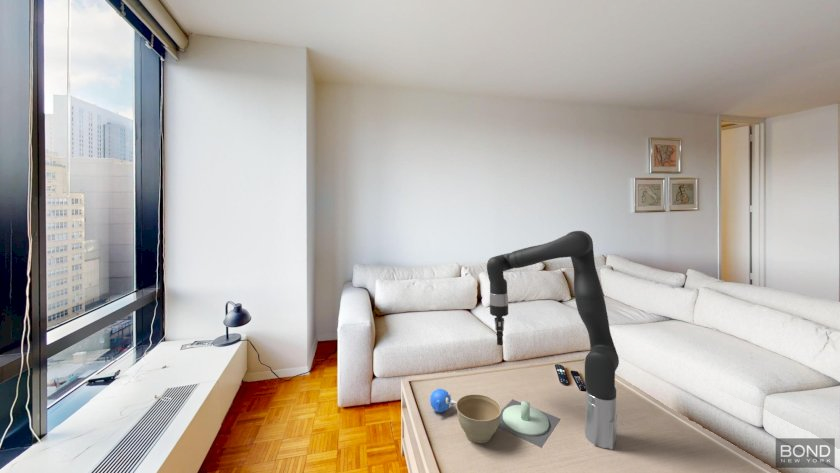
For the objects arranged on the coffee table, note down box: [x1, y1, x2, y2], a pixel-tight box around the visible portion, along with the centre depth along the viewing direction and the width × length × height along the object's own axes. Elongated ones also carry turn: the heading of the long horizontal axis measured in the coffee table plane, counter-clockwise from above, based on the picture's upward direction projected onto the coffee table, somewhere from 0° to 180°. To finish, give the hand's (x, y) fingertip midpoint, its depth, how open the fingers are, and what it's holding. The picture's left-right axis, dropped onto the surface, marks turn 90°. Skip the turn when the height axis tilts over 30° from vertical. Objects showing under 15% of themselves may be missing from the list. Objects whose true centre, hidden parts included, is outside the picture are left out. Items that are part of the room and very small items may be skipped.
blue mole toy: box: [429, 388, 457, 413], centre depth 130 cm, size 12×12×8 cm
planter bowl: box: [455, 393, 502, 444], centre depth 115 cm, size 16×16×11 cm
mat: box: [498, 399, 561, 448], centre depth 123 cm, size 20×20×1 cm
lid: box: [503, 400, 549, 436], centre depth 122 cm, size 17×17×7 cm
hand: (499, 340), depth 133 cm, fingers open, 8 cm apart
